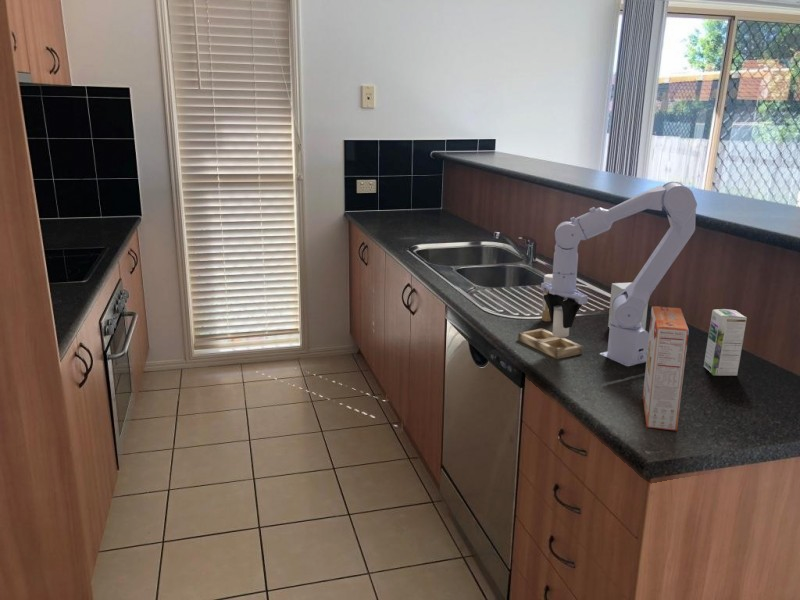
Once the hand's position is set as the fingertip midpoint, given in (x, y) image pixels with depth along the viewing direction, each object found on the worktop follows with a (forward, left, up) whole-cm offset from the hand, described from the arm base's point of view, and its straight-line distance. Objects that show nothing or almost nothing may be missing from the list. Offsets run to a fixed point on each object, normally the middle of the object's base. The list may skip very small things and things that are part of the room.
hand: (561, 324), depth 163 cm
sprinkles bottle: (+22, -15, -8) cm, 28 cm away
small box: (+5, -28, -8) cm, 30 cm away
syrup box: (-27, -25, -8) cm, 38 cm away
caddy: (+4, 0, -8) cm, 9 cm away
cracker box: (-36, +6, -8) cm, 37 cm away
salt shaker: (0, 0, -3) cm, 2 cm away
